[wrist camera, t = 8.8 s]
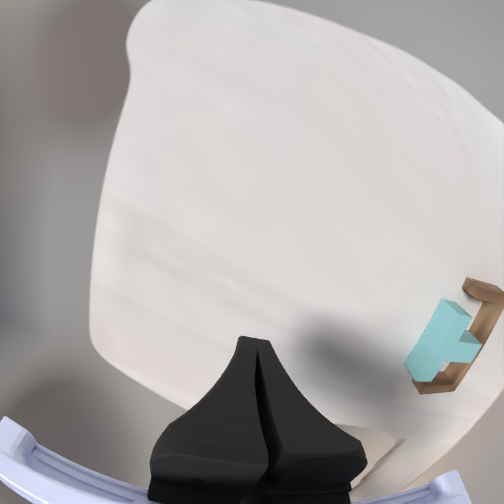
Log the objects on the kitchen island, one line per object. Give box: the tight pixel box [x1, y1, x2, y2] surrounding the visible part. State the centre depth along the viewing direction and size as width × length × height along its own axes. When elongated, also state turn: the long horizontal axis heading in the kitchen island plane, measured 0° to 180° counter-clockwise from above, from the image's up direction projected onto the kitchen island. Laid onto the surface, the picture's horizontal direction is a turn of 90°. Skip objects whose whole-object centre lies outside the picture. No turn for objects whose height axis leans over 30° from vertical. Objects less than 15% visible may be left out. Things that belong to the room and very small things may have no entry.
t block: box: [404, 299, 482, 382], centre depth 23 cm, size 8×8×3 cm
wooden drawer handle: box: [412, 277, 504, 394], centre depth 23 cm, size 13×6×2 cm, turn 167°
